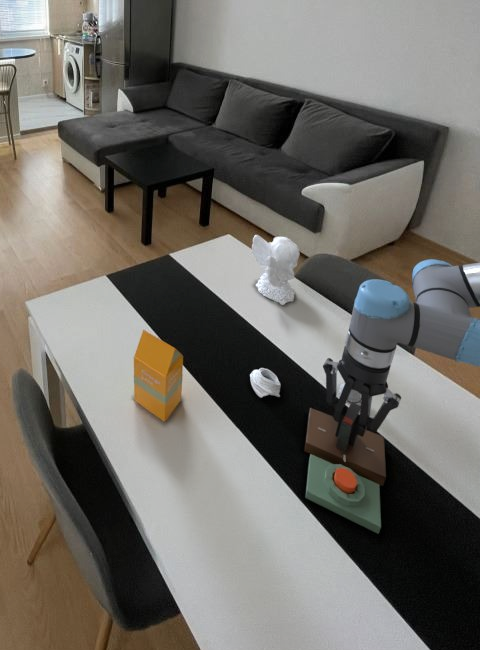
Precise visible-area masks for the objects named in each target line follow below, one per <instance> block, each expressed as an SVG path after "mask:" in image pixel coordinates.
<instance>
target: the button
mask: <svg viewBox="0 0 480 650" xmlns="http://www.w3.org/2000/svg"><path fill="white" fill-rule="evenodd" d="M334 482H335V484H336V486H337V487H338V488H339V489H340V490H341V491H343V492H345V493H349V494H350V493H353V492H354V491H355V489H356V485H357V480H356V477H355V476H354V474H353V473H352V472H350V471H349V470H347V469H345V468H338V469H337V470H336V471H335V475H334Z"/></svg>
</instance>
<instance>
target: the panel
mask: <svg viewBox="0 0 480 650" xmlns="http://www.w3.org/2000/svg"><path fill="white" fill-rule="evenodd" d="M333 417H334V416H333V415H330V414H328V413H325V412H322V411H320V410H317V409H314V408H312V407H310V408H309V411H308V416H307V425H306V432H305V433H306V434H305V443H304V452H305V453H307V454H309V455H310V454H312V455H314V456H316V457H319V458H321V459H323V460H325V461H327V462H330V463H332V464H341V465H343V466H345V467H348V468H350V469H351V470H352V471H353V472H354V473H356V474H357V475H359V476H361V477H363V478H366V479H368V480H370V481H372V482H375V483H377V484H379V486H381V487H384V484H385V481H386V479H387V471H386V470H387V469H386V451H385V437H384V436H382V435H380V434H378V433H376V432H374V431H371V430H367V429H366V432H365V434H364V436H363V437H361V436H360V435H357V438H356V441H355V443H354V445H353V447H352V446H350V445H348V448H347V450H346V452H343V451H342V450H340V449H339V448H337V447H336V443H337V439H338V437H336V436H335V434H336V430H337V426H338V422H337V421H335V420H334V418H333Z"/></svg>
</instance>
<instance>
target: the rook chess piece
mask: <svg viewBox="0 0 480 650" xmlns="http://www.w3.org/2000/svg"><path fill="white" fill-rule="evenodd" d="M344 385H345V382H344V381H343V382H342V383H341V384H340V386H339V388H338V391H339V394H340V395H341V393H342V391H343V388H344ZM360 400H361V394H360V393H359V392H357V391H355V390H351V393H350V395H349V397H348V399H347V402H349V403H351V402H354V403H357V402H360Z"/></svg>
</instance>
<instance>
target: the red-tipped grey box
mask: <svg viewBox="0 0 480 650" xmlns="http://www.w3.org/2000/svg"><path fill="white" fill-rule="evenodd" d="M347 408H348V410H347V412H346V414H345V416H344V418H343V420H342V423H341V427H340V431H339V435H338V439H337V443H336V447H337V448H339V449H340V450H342V451H343V452H346V450H347V448H348V445H349V441H350V437H351V433H352V430H353V426H354V422H355V420H356V418H357V416H358V414H359V415H360V409H361V405H360V404H357V402H350V404H349V406H348V407H347Z"/></svg>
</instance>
